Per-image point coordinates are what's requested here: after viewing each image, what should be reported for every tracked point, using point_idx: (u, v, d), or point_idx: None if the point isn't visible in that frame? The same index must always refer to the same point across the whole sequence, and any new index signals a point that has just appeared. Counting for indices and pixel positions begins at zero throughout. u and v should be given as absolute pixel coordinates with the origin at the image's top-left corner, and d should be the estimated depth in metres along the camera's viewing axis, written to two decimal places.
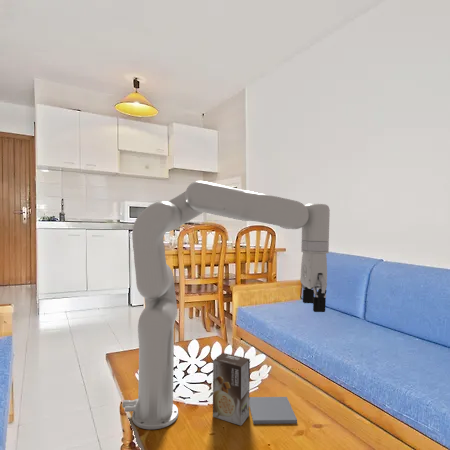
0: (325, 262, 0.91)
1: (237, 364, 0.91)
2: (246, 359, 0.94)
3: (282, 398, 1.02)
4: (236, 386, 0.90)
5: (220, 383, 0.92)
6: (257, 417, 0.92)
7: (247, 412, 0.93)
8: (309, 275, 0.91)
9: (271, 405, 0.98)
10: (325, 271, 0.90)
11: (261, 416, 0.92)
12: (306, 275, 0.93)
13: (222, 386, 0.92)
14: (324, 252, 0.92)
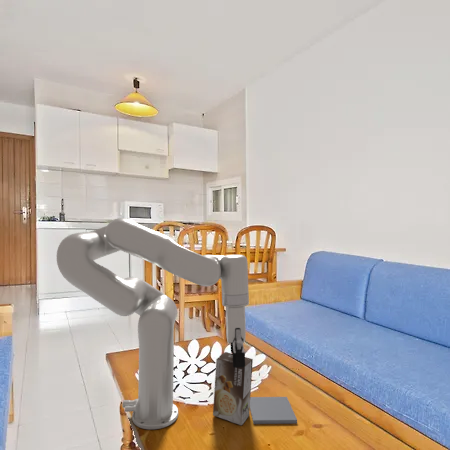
0: (242, 316, 0.89)
1: None
2: (249, 359, 0.94)
3: (282, 398, 1.02)
4: (239, 386, 0.90)
5: (223, 382, 0.92)
6: (257, 417, 0.92)
7: (247, 412, 0.93)
8: (227, 330, 0.90)
9: (271, 405, 0.98)
10: (243, 325, 0.89)
11: (261, 416, 0.92)
12: None
13: (224, 385, 0.92)
14: (242, 305, 0.91)
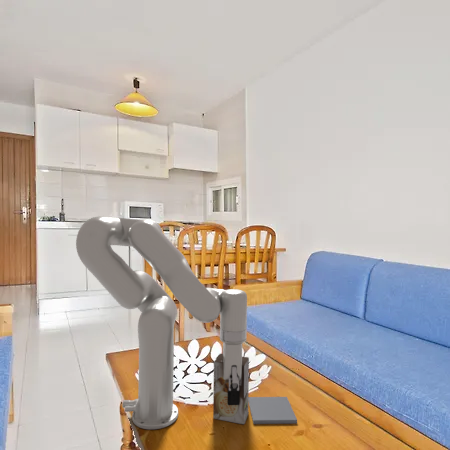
0: (239, 353, 0.90)
1: None
2: (246, 358, 0.95)
3: (282, 398, 1.02)
4: (239, 385, 0.90)
5: (222, 384, 0.92)
6: (257, 417, 0.92)
7: (247, 410, 0.94)
8: (224, 366, 0.90)
9: (271, 405, 0.98)
10: (239, 363, 0.89)
11: (261, 416, 0.92)
12: (223, 364, 0.92)
13: (223, 386, 0.91)
14: (239, 342, 0.91)
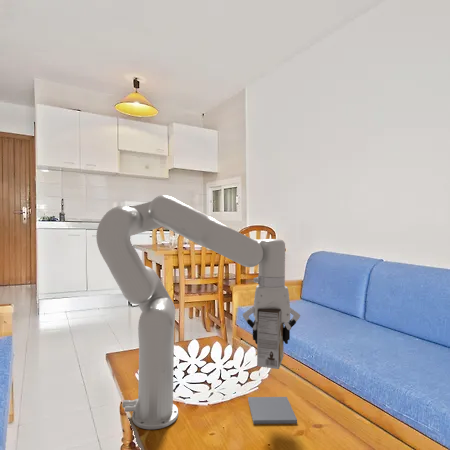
0: None
1: None
2: None
3: (282, 398, 1.02)
4: (283, 323, 0.98)
5: (281, 329, 0.94)
6: (257, 417, 0.92)
7: None
8: (287, 309, 0.94)
9: (271, 405, 0.98)
10: None
11: (261, 416, 0.92)
12: None
13: (281, 331, 0.94)
14: None
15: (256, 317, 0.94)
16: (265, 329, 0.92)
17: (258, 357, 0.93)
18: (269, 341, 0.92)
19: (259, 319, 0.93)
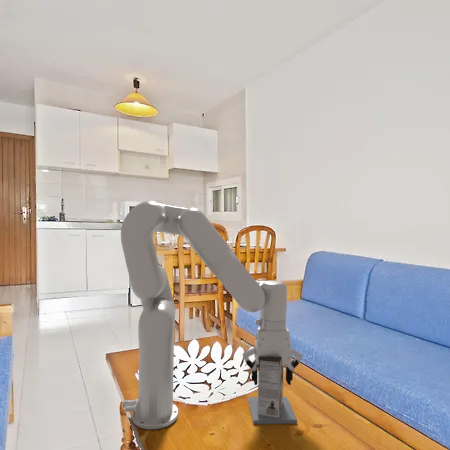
0: None
1: None
2: None
3: None
4: None
5: (281, 377, 0.94)
6: (257, 417, 0.92)
7: None
8: (288, 353, 0.94)
9: None
10: None
11: (261, 416, 0.92)
12: (280, 354, 0.94)
13: (281, 379, 0.94)
14: None
15: (257, 360, 0.94)
16: (266, 378, 0.92)
17: (259, 406, 0.93)
18: (270, 390, 0.92)
19: (260, 368, 0.93)
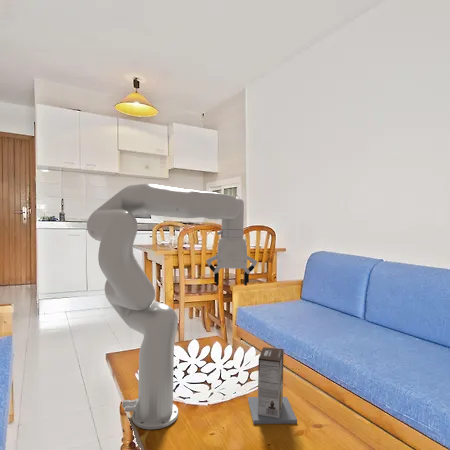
0: None
1: (280, 350, 0.98)
2: (266, 348, 1.00)
3: None
4: None
5: (281, 377, 0.94)
6: (257, 417, 0.92)
7: None
8: (244, 257, 1.11)
9: None
10: None
11: (261, 416, 0.92)
12: (237, 258, 1.11)
13: (281, 379, 0.94)
14: None
15: (218, 263, 1.11)
16: (266, 378, 0.92)
17: (259, 406, 0.93)
18: (270, 390, 0.92)
19: (260, 368, 0.93)
